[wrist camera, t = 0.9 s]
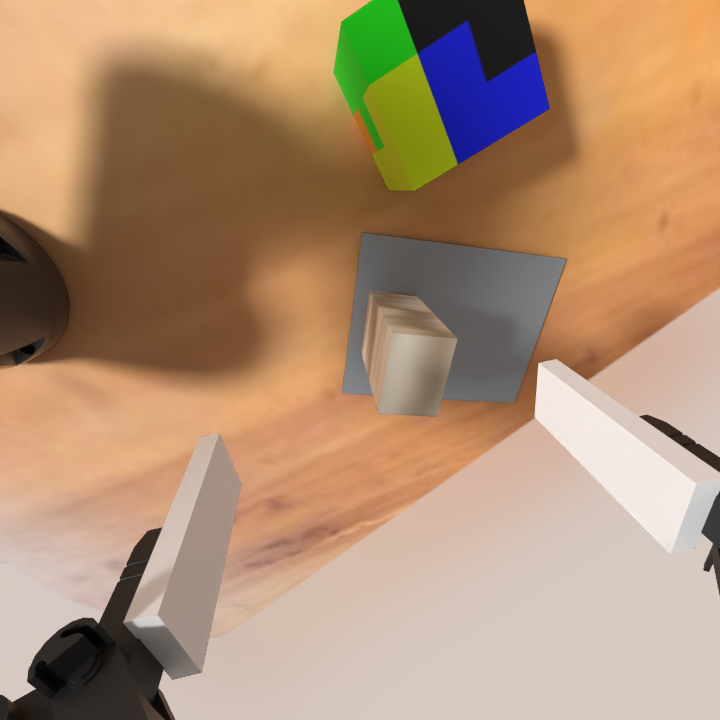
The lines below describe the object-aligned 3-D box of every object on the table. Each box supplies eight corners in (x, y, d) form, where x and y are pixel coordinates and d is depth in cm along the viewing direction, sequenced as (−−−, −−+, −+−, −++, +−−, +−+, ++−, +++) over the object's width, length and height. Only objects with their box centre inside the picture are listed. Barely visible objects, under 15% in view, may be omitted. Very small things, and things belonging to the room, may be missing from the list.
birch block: (361, 351, 40) (378, 413, 29) (369, 290, 37) (392, 333, 26) (404, 355, 41) (437, 416, 30) (416, 295, 38) (457, 338, 27)
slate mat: (342, 391, 42) (342, 393, 42) (362, 232, 35) (362, 232, 35) (512, 401, 46) (514, 403, 45) (564, 258, 38) (566, 259, 38)
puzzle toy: (485, 131, 32) (549, 108, 23) (388, 190, 34) (414, 190, 25) (442, -1, 28) (501, -90, 19) (333, 72, 29) (341, 21, 20)
